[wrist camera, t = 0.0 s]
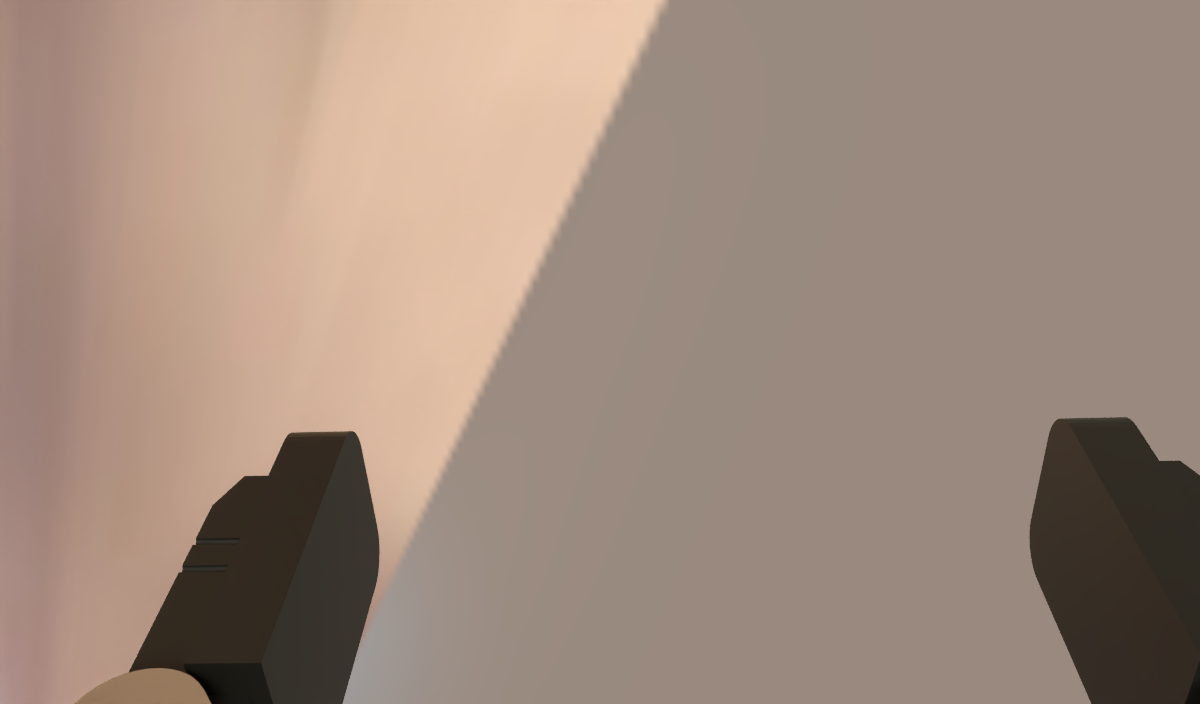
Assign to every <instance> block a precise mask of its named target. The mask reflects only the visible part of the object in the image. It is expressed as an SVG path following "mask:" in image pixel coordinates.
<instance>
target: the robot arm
mask: <svg viewBox="0 0 1200 704" xmlns="http://www.w3.org/2000/svg"><path fill="white" fill-rule="evenodd" d="M1030 551H1031V558H1032V564H1033V568H1034V572H1035V575H1036V577H1037V580H1038V582H1039V585H1040V587H1041V589H1042V591H1043V593H1044V596H1045V598H1046V601H1047V603H1048V605H1049V607H1050V610H1051V612H1052V614H1053V617H1054V619H1055V621H1056V623H1057V626H1058V628H1059V630H1060V633H1061V635H1062V637H1063V640H1064V642H1065V644H1066V646H1067V649H1068V651H1069V653H1070V655H1071V658H1072V660H1073V662H1074V665H1075V667H1076V669H1077V672H1078V674H1079V676H1080V679H1081V681H1082V683H1083V685H1084V688H1085V690H1086V692H1087V694H1088V697H1089V699H1090V701H1091V704H1200V475H1198V474H1197V473H1196V472H1194V471H1193V470H1192V469H1190V468H1189V467H1188V466H1186V465H1185V464H1183V463H1182V462H1181V461H1159V460H1158V458H1157V457H1156V455H1155V454H1154V452H1153V451H1152V450H1151V448H1150V446H1149V445H1148V443H1147V442H1146V440H1145V438H1144V437H1143V435H1142V434H1141V433H1140V431H1139V429H1138V428H1137V426H1136V425H1135V424H1134V422H1133V421H1131V420H1130V419H1129V418H1125V417H1123V418H1122V417H1117V418H1072V419H1071V418H1070V419H1058V420H1056V421H1055V422H1054V424H1053V425H1052V427H1051V430H1050V433H1049V437H1048V442H1047V447H1046V452H1045V456H1044V461H1043V466H1042V471H1041V475H1040V480H1039V485H1038V489H1037V495H1036V499H1035V504H1034V509H1033V513H1032V518H1031V524H1030ZM182 566H183V571H182V573H178V575H177V577H176V579H175V581H174V583H173V585H172V587H171V589H170V591H169V593H168V595H167V597H166V599H165V601H164V603H163V605H162V607H161V609H160V611H159V613H158V615H157V617H156V619H155V621H154V623H153V625H152V627H151V629H150V631H149V633H148V635H147V637H146V639H145V641H144V643H143V645H142V647H141V649H140V651H139V653H138V655H137V657H136V659H135V661H134V663H133V665H132V667H131V669H130V671H129V673H126V674H123V675H120V676H118V677H115V678H113V679H111V680H109V681H107V682H105V683H103V684H101V685H99V686H97V687H96V688H94V689H93V690H91V691H90V692H88V693H87V694H86V695H84V696H83V697H82V698H81V699H80V700H79V701H77V702H76V703H75V704H342V703H343V699H344V696H345V692H346V689H347V685H348V681H349V678H350V675H351V671H352V668H353V664H354V660H355V657H356V653H357V650H358V646H359V643H360V639H361V636H362V632H363V629H364V625H365V622H366V618H367V614H368V611H369V607H370V604H371V600H372V597H373V593H374V590H375V586H376V582H377V577H378V569H379V536H378V529H377V524H376V519H375V514H374V509H373V504H372V499H371V494H370V489H369V484H368V479H367V474H366V469H365V464H364V459H363V454H362V449H361V444H360V441H359V438H358V436H357V435H356V433H355V432H353V431H348V432H300V433H290V434H289V435H288V436H287V437H286V439H285V440H284V442H283V445H282V447H281V449H280V451H279V454H278V456H277V458H276V460H275V462H274V465H273V467H272V469H271V471H270V473H269V476H244V477H243V478H242V479H241V480H240V481H239V482H238V483H237V484H236V485H235V486H233V487H232V488H231V489H230V490H229V491H228V492H227V493H226V494H225V495H224V496H222V497H221V498H220V499H219V500H218V501H217V502H216V503H215V504H214V505H213V506H212V508H211V510H210V512H209V514H208V516H207V518H206V520H205V522H204V524H203V526H202V528H201V530H200V532H199V534H198V536H197V538H196V545H192V547H191V549H190V551H189V553H188V555H187V557H186V559H185V561H184V563H183V565H182Z"/></svg>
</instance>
